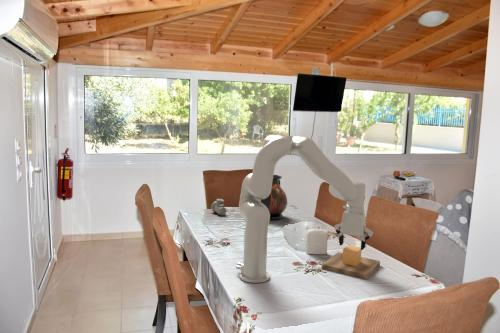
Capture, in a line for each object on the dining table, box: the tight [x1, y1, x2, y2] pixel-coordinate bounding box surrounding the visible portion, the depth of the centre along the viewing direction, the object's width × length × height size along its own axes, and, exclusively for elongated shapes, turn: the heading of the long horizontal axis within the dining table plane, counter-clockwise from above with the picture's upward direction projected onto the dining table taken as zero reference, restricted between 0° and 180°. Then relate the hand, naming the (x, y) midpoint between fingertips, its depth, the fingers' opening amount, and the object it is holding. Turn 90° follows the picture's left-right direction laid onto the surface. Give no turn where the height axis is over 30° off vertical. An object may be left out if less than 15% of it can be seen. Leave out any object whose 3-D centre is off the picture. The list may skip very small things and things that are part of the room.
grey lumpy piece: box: [210, 198, 228, 217], centre depth 267 cm, size 12×8×10 cm
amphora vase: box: [261, 174, 288, 221], centre depth 260 cm, size 22×22×28 cm
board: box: [321, 251, 381, 280], centre depth 177 cm, size 20×20×7 cm
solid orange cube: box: [342, 245, 363, 266], centre depth 177 cm, size 6×6×6 cm
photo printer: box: [305, 228, 329, 255], centre depth 194 cm, size 10×4×12 cm, turn 89°
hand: (351, 246), depth 177 cm, fingers open, 9 cm apart
